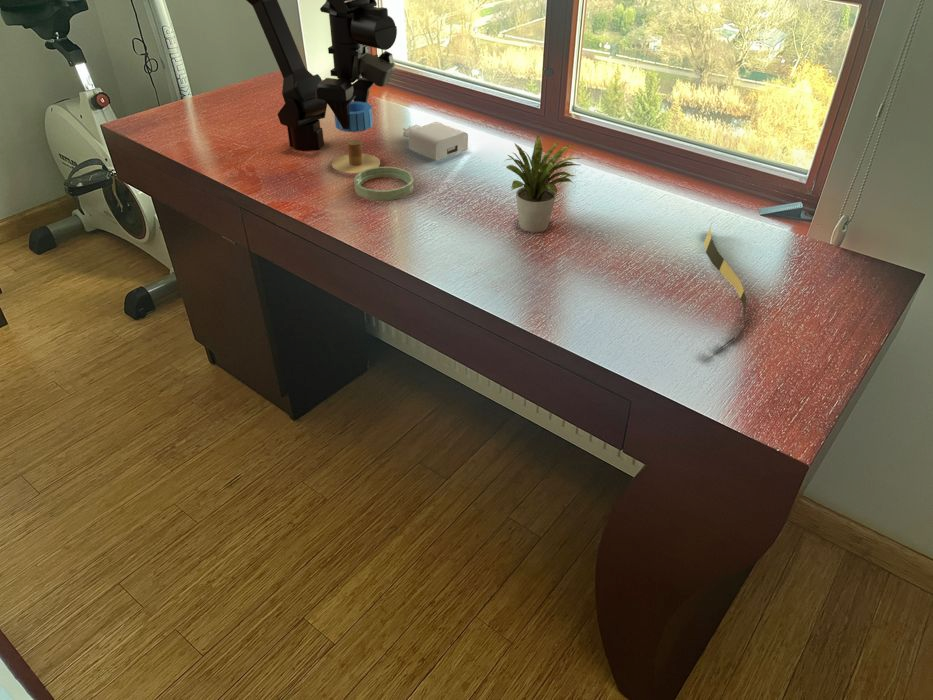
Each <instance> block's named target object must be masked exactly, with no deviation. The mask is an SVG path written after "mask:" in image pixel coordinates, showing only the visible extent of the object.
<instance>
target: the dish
mask: <svg viewBox="0 0 933 700" xmlns="http://www.w3.org/2000/svg"><path fill="white" fill-rule="evenodd" d="M379 178H393V179H398V180H402V181H403V182H405V183H406V184H405V185H403V186H402V187H397V188H395V189H394V188H393V189H388V190H379V189H378V190H376V189H369V188H367V187H363V186H362V185H363V183H365V182H367V181H370V180H373V179H379ZM414 179H415V178H414V175H413V174H412V173H411V172H410V171H408V170H406V169H404V168H400V167H394V166H378V167H375V168H370V169H366V170H364V171H362V172H360V173H356V175H354V178H353V187H354V191H355V193H356V195H358V196H359V197H361V198H364V199H366V200H369V201H377V202H378V201H380V202H383V201H384V202H385V201H394V200H399V199H402V198H404V197H407V196H408V195H410V194H412V192H413V191H414V187H415V183H414V181H415V180H414Z"/></svg>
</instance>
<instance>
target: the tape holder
mask: <svg viewBox="0 0 933 700" xmlns="http://www.w3.org/2000/svg"><path fill="white" fill-rule="evenodd" d="M347 152H348V154H343V155H341V156H338V157H336V158H334V159H333V160H332V162H331V167H332V168H333V169H334V170H335V171H338V172H341V173H347V174H358V173H360V172H362V171H364V170H366V169H370V168H375V167H380V165H381V160H380V158H378V157H377V156H375V155H373V154H368V153H363V147H362V141H361V140H358V139H351V140H348V141H347Z"/></svg>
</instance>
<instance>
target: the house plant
mask: <svg viewBox="0 0 933 700" xmlns="http://www.w3.org/2000/svg"><path fill="white" fill-rule="evenodd" d="M559 142H560V140H557V141H556V142H555V143H554V144H553V145H552V146H551V147H550V148H549V150H547V151H546V153H545V154H544V156H543V144H542V137H541V135H540V134H538V135H537V136H536V139H535V142H534V146H533V151H532V155H531V157H530V155H529V154H528V153H527V152H526V151H525V150H523V148H522V147H521V146H520V145H517V144H516V143H514V145H515V148H516V150H517V151H518V154H519V156H520V157H519V156H518V155H517V154H516V153H514V152H512V154H513V155H515V157H516V158H517V159H516V158H514V157H513V156H512V155H510V154H507V156H508V157H509V158H507V159H504V160H503V161H504V162H505V161H513V162H514V163H515V164H516V165H513V164H509V165H506V166H505V168H506V169H507V170H510V171H511V172H513V173H515V174H516V175H517V176H519V178H520V179H521V180H522V181H521V180H516V179H515V180H512V184H511V190H510V192H512V191H513V190H516V189H517V190H516V192H515V198H516V199H515V200H516V206H517V217H518V224H519V227H520V228H521V229H522V230H523V231H526V232H529V233H540V232H544V231H545V230H547V229H548V228H549V224H550V221H551V217H552V213H553V209H554V205H555V202H556V197H557V194H558V193H557V192H558V187H557V185H556V184H559V183H568V182H569V183H572V184H575V183H574V182H573V181H572V180H571V179H570V178H568V177H571V178H573V177H576V175H574V174H571V173H569V172H566V171H558V170H559V169H562V168H566V167H570V166H571V167H572V166H580V164H579V163H573V161H570V160H579V159H581V157H568V158H564V159H561V160H559V159H560V158H561V157H562V155H563V154H564V152H565V151H566V150H568V148H570V147H571V146H572V144H569V145H565V146H563V147H561V148H560V149H559V150H558V151H556V153H555V154H554V155H553V156H552V154H553V152H554V150H555V149H556V147H557V146H558V144H559ZM551 156H552V157H551ZM550 157H551V158H550ZM558 160H559V161H558ZM517 166H518V167H517ZM555 171H558V172H555ZM554 172H555V173H554ZM558 176H561V177H558ZM556 177H558V178H556ZM554 178H555V179H554Z"/></svg>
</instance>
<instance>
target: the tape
mask: <svg viewBox="0 0 933 700" xmlns="http://www.w3.org/2000/svg"><path fill="white" fill-rule="evenodd" d="M713 221H714V220H712V223H713ZM712 237H713V236H712V225H710V226H709V229H708V232H707V234H706V236H705V239H704V241H703V244H704V249H705V254H706V255H707V257H708V258H709V260H710V262H711V264H712V265H713V266H714V267H715V269H717V270H718V272H719V273H720V274H721V275H722V276H723V277H724V278H725V279H726V281H728V282H729V283H730V284H731V286H733V287H734V288H735V290H736V293H737V295H738V297H739V299H740V301H741V303H742V321H744V320H745V319H746V315H747V300H748V299H747V295H746V293H745V290H744V287H743V284H742V281H741V279H740V278H739V276H738V275H737V274H736V273H735V272H734V270H733V268H731V267H730V265H729V264H728V263H727V262H726V260H725V258H724V257H723V256H722V255H721V253H720V252H719V251H718V249H717V247H716V245H715V242H714V240H713V238H712ZM735 339H736V336H734V337H732V338H731V339H730V340H729V341H727V342H726V343H725V344H723V345H722V346H721V347H719V348H718V349H717V350H715V351H714V352H713V353H712V354H710V355H709V356H708V358H710V357H711V356H712V355H714V354H716V353H717V352H718V351H720V350H721V349H723V348H724V347H726V346H727V345H728V344H730V343H731V342H732V341H733V340H735Z"/></svg>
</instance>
